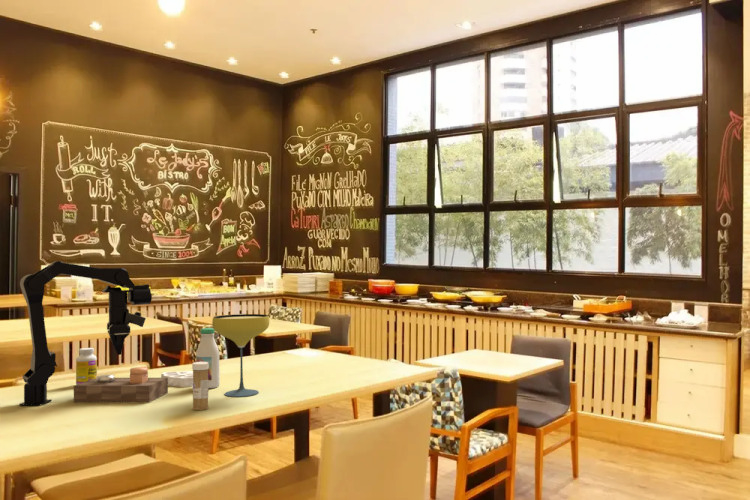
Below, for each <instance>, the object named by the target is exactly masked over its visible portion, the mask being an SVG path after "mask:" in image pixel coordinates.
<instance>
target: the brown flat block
mask: <svg viewBox="0 0 750 500" xmlns="http://www.w3.org/2000/svg"><path fill="white" fill-rule="evenodd" d="M114 380H115V381H113V382H111V383H96V382H97V378H95V379H92V380H89V381H86V382H84V383H81V384H78V385H73V403H151V402H153V401H155V400H157V399H159V398H160V397H163V396H165V395H166V394H168V393H169V385H168V378H161V377H148V381H147V382H144V383H130V377H114Z"/></svg>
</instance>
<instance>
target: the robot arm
mask: <svg viewBox="0 0 750 500" xmlns="http://www.w3.org/2000/svg"><path fill="white" fill-rule="evenodd" d="M59 275H65V276H73V277H79V278H86V279H93V280H98V281H101V282H102V283H105V284H107V285H106V286H105V288H103V289H102V290H101V292H102V293H103V294H105V293H106V294H108V310H107V311H108V322H107V323H106V330H107V333H108V335H109V338H110V341H111V343H112V346H113V347H114V350H115V352H116V354H117V356H120V355H122V352H123V348H124V343H125V339H126V338H127V337H128V336H130V334H131V326H130V324H133V325H136V326H139V327H140V328H141V327H142V328H143V327H144V324H145V322H146V319H147V317H144V316H142V313H141V312H138V311H135V312H134V313H131V312H130V309H129V308H128V303H130V304H131V305H132V306H138V305H142V306H143V305H150V304H151V303H152V297H153V294H152V292H151V289H150V284H139V285H137V284H136V285H135V283H134V282H133V281H132V279H131V278H130V274H129V272H128V271H127V270H126V268H122V267H121V268H120V267H117V268H115V267H113V268H111V267H109V268H108V267H107V268H106V267H105V268H103V267H93V266H87V265H82V264H81V265H80V264H73V263H70V262H69V263H68V262H63V261H53V262H51V263H50V264H49V265H46V267H43V268H41V269H40V270H38V271H37V272H35V273H33V274H32V273H31V274H30V273H29V274H26V275H24V276H23V277H22V278H21V279H20V281H19V286H20V290H21V293H22V295H23V296H22V297H23V298H24V301H25V303H26V304H27V305H26V306H27V311H28V312H27V313H28V314H27V315H28V320H29V322H28V323H29V328H30V337H31V346H32V352H31V358H30V368H29V369H28V370H27V371H26V372H25V373H24V374H23V375H22V379H23V382H24V385H23V402H21V403H19V404H18V405H19V406H29V407H31V406H32V407H33V406H42V405H44V404H47V403H49V402H52V399H51V398H50V399H48V381H49V378H51V377H52V376H53V375H54V374H55V371H56V367H58V364H57V362H56V357H57V356H56V355H57V354H56V353H55V352H53V351H50V349H49V347H48V340H47V333H46V325H45V314H44V308H43V301H44V294H45V285H47V283H48V284H49V282H51V281H52V280H53V279H55V278H56V277H57V276H59ZM108 284H110V285H112V286H117V287H112V286H110V285H108ZM118 286H119V287H118ZM124 289H125V290H124Z"/></svg>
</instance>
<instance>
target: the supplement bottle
mask: <svg viewBox="0 0 750 500" xmlns="http://www.w3.org/2000/svg"><path fill="white" fill-rule="evenodd" d="M94 351H95V348H93V347H83V348H79V351H78V352H79V356H77V357H76V359H75V364H76V365H75V384H76V385H78V384H81V383H84V382H86V381H89V380H92V379H95V378H97V376H98V375H97V373H98V371H97V370H98V369H97V367H98V366H97V365H98V363H97V361H98V357H97V356H96V355H95V354H94Z"/></svg>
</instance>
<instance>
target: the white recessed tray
mask: <svg viewBox="0 0 750 500" xmlns="http://www.w3.org/2000/svg"><path fill="white" fill-rule="evenodd" d="M160 376H161V377H160V378H168V386H170V387H181V388H189V387H193V371H191V370H183V371H164V372H162V373H161V374H160Z"/></svg>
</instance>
